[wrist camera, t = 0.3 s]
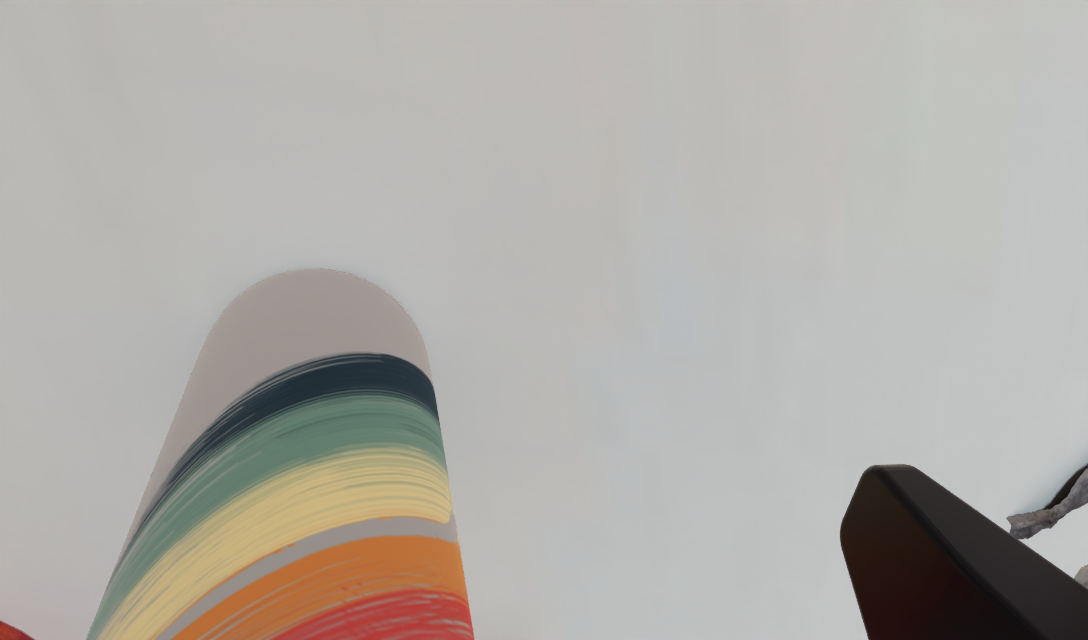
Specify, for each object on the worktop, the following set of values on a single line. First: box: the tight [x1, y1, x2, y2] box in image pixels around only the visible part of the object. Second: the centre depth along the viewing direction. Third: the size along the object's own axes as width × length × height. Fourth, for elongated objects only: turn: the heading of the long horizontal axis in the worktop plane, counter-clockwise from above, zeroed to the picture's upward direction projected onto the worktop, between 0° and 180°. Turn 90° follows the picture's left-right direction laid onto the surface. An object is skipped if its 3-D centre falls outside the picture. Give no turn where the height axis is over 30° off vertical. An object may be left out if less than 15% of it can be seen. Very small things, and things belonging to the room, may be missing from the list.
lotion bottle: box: [86, 269, 474, 640], centre depth 15 cm, size 6×6×20 cm
